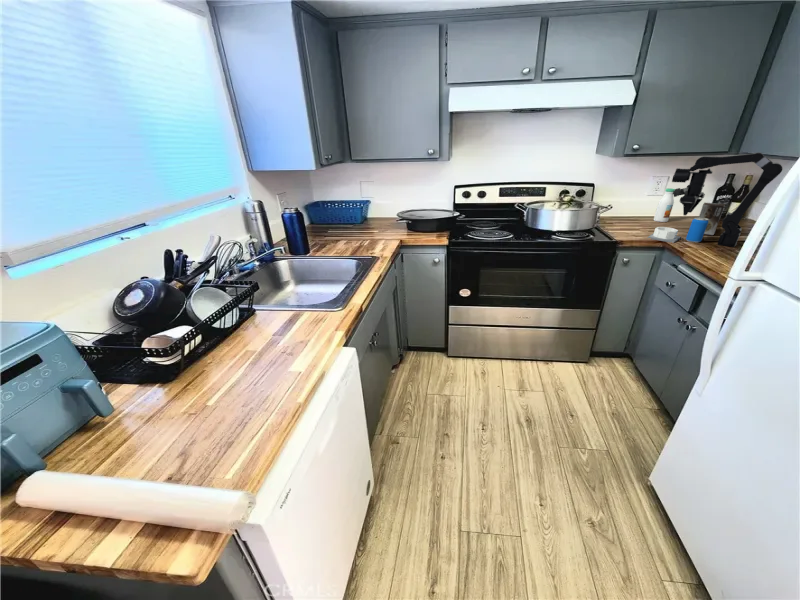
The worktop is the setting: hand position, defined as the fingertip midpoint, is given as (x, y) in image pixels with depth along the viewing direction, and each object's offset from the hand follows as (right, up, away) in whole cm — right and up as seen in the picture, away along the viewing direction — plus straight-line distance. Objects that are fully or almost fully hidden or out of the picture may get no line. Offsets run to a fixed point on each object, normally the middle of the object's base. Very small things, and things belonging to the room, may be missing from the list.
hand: (687, 213), depth 178 cm
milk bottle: (+17, +5, +40) cm, 44 cm away
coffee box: (+21, -8, +13) cm, 26 cm away
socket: (-8, -12, +6) cm, 15 cm away
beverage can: (+3, -15, 0) cm, 15 cm away
